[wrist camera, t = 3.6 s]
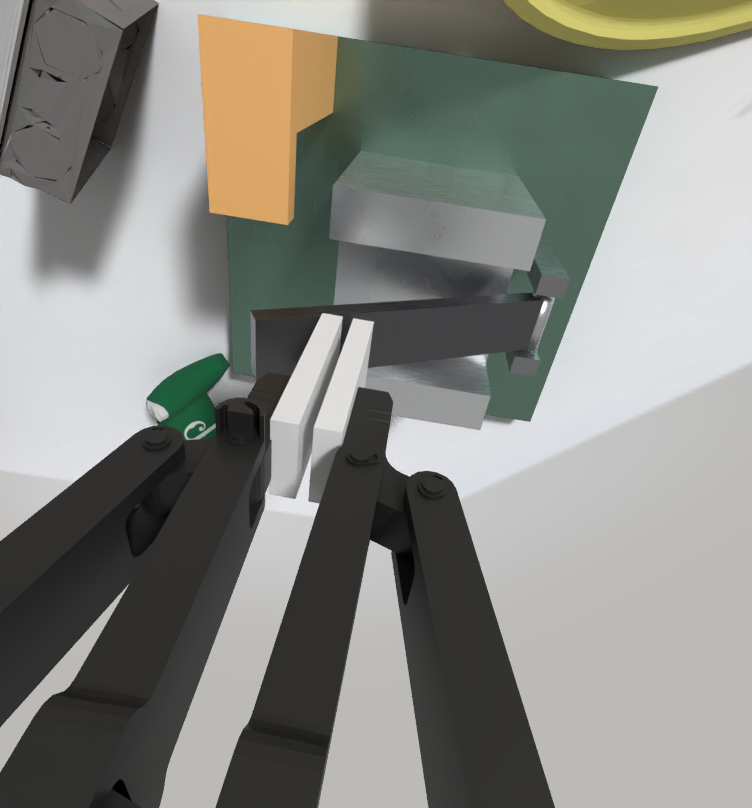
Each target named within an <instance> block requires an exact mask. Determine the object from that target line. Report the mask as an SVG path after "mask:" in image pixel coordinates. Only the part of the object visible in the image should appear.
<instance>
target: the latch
mask: <svg viewBox="0 0 752 808" xmlns="http://www.w3.org/2000/svg"><path fill="white" fill-rule="evenodd" d="M198 29H199V46H200V62H201V79H202V96H203V112H204V129H205V145H206V162H207V178H208V195H209V211H210V213H216V214H222V215H229V216H235V217H241V218H247V219H253V220H260V221H266V222H272V223H278V224H284V225H288V224H289V223H290V222H291V221H292V220H293V218H294V199H295V168H296V138H297V133H298V132H299V131H301V130H303V129H305V128H306V127H308V126H310V125H312V124H314V123H315V122H317V121H319V120H321V119H323V118H324V117H326V116H328V115H330V114H331V113H333V104H334V90H335V75H336V60H337V46H338V36H332V35H326V34H320V33H314V32H307V31H301V30H295V29H289V28H282V27H276V26H270V25H263V24H257V23H250V22H244V21H238V20H231V19H225V18H219V17H212V16H206V15H199V14H198Z"/></svg>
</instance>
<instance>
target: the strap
mask: <svg viewBox="0 0 752 808" xmlns="http://www.w3.org/2000/svg"><path fill="white" fill-rule="evenodd" d="M554 300H555V298H554V297H547V296H541V295H535V293H534V291H533V293H518V294H503V295H487V296H471V297H455V298H439V299H423V300H407V301H391V302H375V303H359V304H343V305H328V306H312V307H296V308H280V309H264V310H250V315H251V370H252V373H253V375H254V377H255V380H256V381H257V380H258V379H260V378H261V377H263V376H264V375H266V374H267V373H275V374H281V375H287V376H292V374H293V372H294V370H295V368H296V366H297V364H298V362H299V360H300V358H301V356H302V354H303V352H304V350H305V347H306V345H307V343H308V341H309V339H310V337H311V335H312V333H313V331H314V329H315V327H316V325H317V323H318V321H319V319H320V317H321V315H322V313H325V314H331V315H337V316H343V320H342V330H341V341H340V351H339V356H340V354H341V351H342V348H343V345H344V343H345V340H346V337H347V334H348V332H349V329H350V326H351V323H352V321H353V318H354V319H360V320H366V321H372V322H374V325H373V332H372V340H371V347H370V354H369V361H368V368H373V367H382V366H390V365H399V364H407V363H416V362H424V361H433V360H441V359H450V358H458V357H467V356H475V355H484V354H492V353H501V352H509V351H518V350H528V351H535V350H537V348H538V345H539V342H540V339H541V337H542V334H543V331H544V328H545V325H546V322H547V320H548V317H549V314H550V311H551V308H552V306H553V303H554Z"/></svg>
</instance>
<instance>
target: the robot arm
mask: <svg viewBox="0 0 752 808" xmlns="http://www.w3.org/2000/svg"><path fill="white" fill-rule="evenodd" d="M342 320H343V316H337V315H331V314H325V313H322V315H321V317H320V319H319V321H318V323H317V325H316V327H315V329H314V331H313V333H312V335H311V337H310V339H309V341H308V343H307V345H306V347H305V350H304V352H303V354H302V356H301V358H300V360H299V362H298V364H297V366H296V368H295V370H294V372H293V374H292V376H287V375H281V374H275V373H267V374H266V375H264V376H263V377H261V378H260V379H258V380H257V382H256V384H255V385H254V387H253V389H252V391H251V392H250V394H249V395H248V398H235V399H229V400H226V401H224V402H222V403H220V404H219V405H218V406H217V407H216V408H215V423H216V434H215V436H214V437H211V438H206V439H195V440H184V437H183V435H182V433H181V432H180V431H179V430H177V429H175V428H174V427H169V426H152V427H149V428H145V429H143V430H141V431H139V432H137V433H136V434H134V435H133V436H132V437H131V438H129V439H128V440H127V441H126V442H124V443H123V444H122V445H121V446H119V447H118V448H117V449H116V450H114V451H113V452H112V453H110V454H109V455H108V456H107V457H105V458H104V459H103V460H102V461H100V462H99V463H98V464H97V465H95V466H94V467H93V468H92V469H90V470H89V471H88V472H87V473H85V474H84V475H83V476H82V477H80V478H79V479H78V480H77V481H75V482H74V483H73V484H72V485H70V486H69V487H68V488H67V489H65V490H64V491H63V492H62V493H60V494H59V495H58V496H57V497H55V498H54V499H53V500H52V501H50V502H49V503H48V504H47V505H46V506H44V507H43V508H41V509H40V510H39V511H38V512H37V513H35V514H34V515H33V516H31V517H30V518H29V519H28V520H27V521H25V522H24V523H23V524H21V525H20V526H19V527H18V528H16V529H15V530H14V531H13V532H11V533H10V534H9V535H8V536H7V537H5V538H4V539H3V540H1V541H0V727H1V726H2V725H3V723H4V722H5V721H6V720H7V719H8V718H9V717H10V716H11V714H12V713H13V712H14V711H15V710H16V709H17V708H18V707H19V706H20V704H21V703H22V702H23V701H24V700H25V699H26V698H27V697H28V696H29V694H30V693H31V692H32V691H33V690H34V689H35V688H36V687H37V685H38V684H39V683H40V682H41V681H42V680H43V679H44V678H45V676H46V675H47V674H48V673H49V672H50V671H51V670H52V669H53V668H54V666H55V665H56V664H57V663H58V662H59V661H60V660H61V659H62V658H63V657H64V655H65V654H66V653H67V652H68V651H69V650H70V649H71V648H72V647H73V645H74V644H75V643H76V642H77V641H78V640H79V639H80V638H81V637H82V635H83V634H84V633H85V632H86V631H87V630H88V629H89V628H90V626H91V625H92V624H93V623H94V622H95V621H96V620H97V619H98V618H99V616H100V615H101V614H102V613H103V612H104V611H105V610H106V609H107V607H108V606H109V605H110V604H111V603H112V602H113V601H114V600H115V598H116V597H117V596H118V595H119V594H120V593H121V592H122V591H123V590H124V589H125V588H126V586H127V585H128V584H129V583H130V584H129V585H128V587H127V589H126V591H125V592H124V594H123V596H122V598H121V599H120V601H119V603H118V605H117V606H116V608H115V610H114V612H113V614H112V615H111V617H110V619H109V620H108V622H107V624H106V626H105V627H104V629H103V631H102V633H101V634H100V636H99V638H98V639H97V641H96V643H95V645H94V646H93V648H92V650H91V652H90V653H89V655H88V657H87V659H86V660H85V662H84V664H83V666H82V667H81V669H80V671H79V672H78V674H77V676H76V678H75V679H74V681H73V682H72V684H71V685H70V686H69V687H68V688H67V689H66V690H65V691H64V692H60V693H58V694H55V695H52V696H51V697H50V698H49V699H48V700H47V701H46V702H45V703H44V704H43V705H42V706H41V708H40V709H39V711H38V712H37V713H36V715H35V716H34V718H33V719H32V721H31V723H30V724H29V726H28V728H27V729H26V731H25V733H24V734H23V736H22V737H21V739H20V741H19V743H18V744H17V746H16V747H15V749H14V751H13V752H12V754H11V756H10V757H9V759H8V761H7V762H6V764H5V766H4V767H3V769H2V771H1V772H0V808H159V806H160V802H161V798H162V794H163V790H164V783H165V777H166V772H167V768H168V764H169V761H170V758H171V755H172V753H173V750H174V747H175V744H176V742H177V739H178V737H179V734H180V731H181V729H182V726H183V723H184V721H185V718H186V715H187V712H188V710H189V707H190V705H191V702H192V699H193V697H194V694H195V691H196V689H197V686H198V683H199V681H200V678H201V675H202V673H203V670H204V667H205V665H206V662H207V659H208V657H209V654H210V651H211V648H212V645H213V643H214V641H215V638H216V635H217V633H218V630H219V627H220V625H221V622H222V619H223V617H224V614H225V611H226V609H227V606H228V603H229V601H230V598H231V596H232V593H233V590H234V587H235V585H236V582H237V579H238V577H239V574H240V572H241V569H242V566H243V563H244V561H245V558H246V556H247V553H248V550H249V547H250V545H251V542H252V539H253V537H254V534H255V531H256V529H257V526H258V524H259V521H260V518H261V515H262V513H263V510H264V507H265V492H266V490H267V488H268V485H269V483H270V494H271V495H277V496H282V497H288V498H293V499H296V496H297V493H298V490H299V487H300V484H301V481H302V478H303V475H304V473H305V470H306V467H307V464H308V461H309V458H310V455H311V452H312V459H311V473H310V487H309V501H310V502H315V503H320V504H319V507H318V510H317V514H316V517H315V520H314V523H313V526H312V529H311V532H310V536H309V539H308V542H307V545H306V548H305V551H304V554H303V557H302V560H301V564H300V566H299V570H298V573H297V576H296V579H295V582H294V585H293V588H292V591H291V595H290V598H289V601H288V604H287V607H286V610H285V613H284V616H283V620H282V623H281V626H280V629H279V632H278V635H277V638H276V641H275V644H274V648H273V651H272V654H271V657H270V660H269V663H268V666H267V669H266V673H265V676H264V679H263V682H262V685H261V688H260V691H259V694H258V697H257V701H256V704H255V707H254V710H253V713H252V716H251V718H250V721H249V723H248V724H247V726H246V727H245V728H244V729H243V731H242V733H241V735H240V737H239V739H238V742H237V745H236V748H235V750H234V753H233V756H232V759H231V762H230V765H229V768H228V771H227V774H226V777H225V780H224V783H223V786H222V789H221V793H220V796H219V799H218V802H217V805H216V808H318V805H319V799H320V794H321V789H322V784H323V779H324V774H325V768H326V763H327V758H328V753H329V748H330V743H331V737H332V732H333V727H334V722H335V716H336V712H337V706H338V701H339V696H340V691H341V685H342V680H343V675H344V670H345V665H346V660H347V654H348V650H349V644H350V639H351V633H352V628H353V623H354V619H355V613H356V608H357V603H358V597H359V592H360V587H361V582H362V577H363V572H364V566H365V562H366V556H367V551H368V546H369V542H370V540H372V541H374V542H376V543H378V544H380V545H382V546H384V547H386V548H388V549H390V550H392V553H391V554H392V561H393V569H394V575H395V582H396V589H397V596H398V603H399V609H400V616H401V622H402V630H403V637H404V644H405V650H406V657H407V664H408V671H409V677H410V684H411V691H412V698H413V705H414V712H415V719H416V725H417V732H418V738H419V745H420V752H421V759H422V766H423V773H424V780H425V787H426V793H427V800H428V806H429V808H555V806H554V803H553V800H552V797H551V794H550V790H549V787H548V784H547V780H546V777H545V774H544V771H543V768H542V764H541V761H540V758H539V755H538V751H537V748H536V745H535V742H534V739H533V735H532V732H531V729H530V726H529V722H528V719H527V716H526V713H525V709H524V706H523V703H522V700H521V697H520V693H519V690H518V687H517V684H516V681H515V677H514V674H513V671H512V667H511V664H510V661H509V658H508V655H507V651H506V648H505V645H504V642H503V638H502V635H501V632H500V629H499V625H498V622H497V619H496V616H495V613H494V609H493V606H492V603H491V600H490V596H489V593H488V590H487V587H486V584H485V580H484V577H483V574H482V571H481V567H480V564H479V561H478V558H477V555H476V551H475V548H474V545H473V542H472V538H471V535H470V532H469V529H468V526H467V522H466V519H465V516H464V513H463V510H462V506H461V503H460V500H459V496H458V493H457V490H456V488H455V486H454V484H453V483H452V482H451V481H450V480H449V479H448V478H447V477H445V476H443V475H441V474H439V473H437V472H430V471H422V472H417V473H415V474H413V475H411V476H410V477H409V476H407V475H404V474H402V473H400V472H399V471H397V470H395V469H394V468H393V467H392V466H391V465H390V464H389V462H388V461H387V458H386V452H385V451H386V445H387V439H388V433H389V426H390V420H391V414H392V408H393V400H392V398H391V396H390V394H389V392H385V391H379V390H374V389H368V388H365V383H366V376H367V369H368V361H369V354H370V347H371V340H372V332H373V325H374V322H372V321H366V320H360V319H354V318H353V321H352V323H351V326H350V329H349V332H348V334H347V337H346V340H345V343H344V345H343V348H342V351H341V354H340V356H339V351H340V341H341V330H342Z"/></svg>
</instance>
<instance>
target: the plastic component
mask: <svg viewBox="0 0 752 808" xmlns="http://www.w3.org/2000/svg"><path fill="white" fill-rule="evenodd" d="M503 1H504V2H505V3H506V5H507V6H508V7H509V8H511V9H512V10H513V11H514V12H515V13H516V14H517V15H518V16H519V17H520V18H521V19H523V20H524V21H526V22H527V23H529V24H530V25H532V26H534V27H535V28H537V29H538V30H540V31H543V32H545V33H547V34H549V35H551V36H553V37H556V38H559V39H562V40H565V41H568V42H571V43H574V44H579V45H584V46H589V47H593V48H602V49H614V50H641V49H657V48H665V47H672V46H679V45H685V44H690V43H696V42H702V41H707V40H711V39H714V38H718V37H722V36H726V35H730V34H733V33H737V32H741V31H745V30H749V29H752V0H503Z"/></svg>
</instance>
